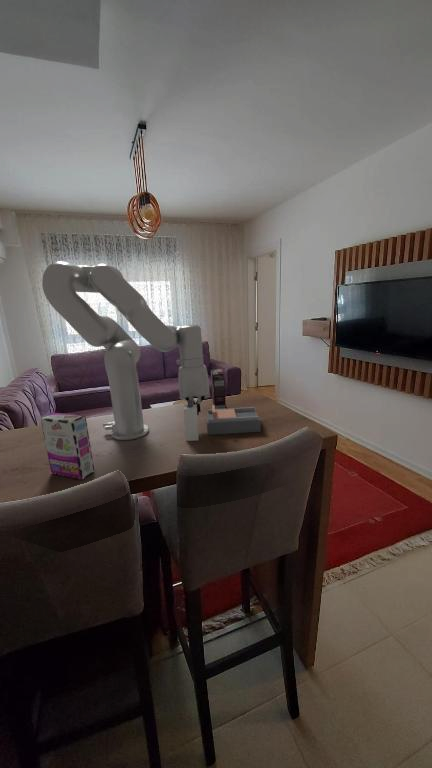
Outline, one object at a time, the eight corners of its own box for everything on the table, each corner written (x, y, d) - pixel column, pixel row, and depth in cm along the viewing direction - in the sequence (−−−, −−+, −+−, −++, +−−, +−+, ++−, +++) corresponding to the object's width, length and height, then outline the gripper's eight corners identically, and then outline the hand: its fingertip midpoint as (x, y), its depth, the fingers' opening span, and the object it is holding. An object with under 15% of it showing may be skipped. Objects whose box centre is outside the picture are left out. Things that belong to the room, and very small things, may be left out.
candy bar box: (95, 471, 87) (86, 415, 83) (82, 480, 82) (72, 422, 78) (64, 465, 91) (54, 411, 87) (50, 474, 86) (38, 418, 82)
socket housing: (207, 434, 107) (206, 420, 105) (207, 422, 117) (206, 409, 116) (260, 431, 107) (260, 417, 106) (255, 419, 118) (255, 406, 116)
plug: (186, 441, 103) (183, 403, 99) (186, 435, 107) (184, 399, 103) (198, 440, 103) (196, 402, 99) (198, 435, 107) (196, 398, 103)
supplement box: (212, 405, 135) (210, 369, 131) (223, 405, 135) (222, 368, 131) (214, 412, 127) (212, 374, 122) (226, 412, 127) (224, 373, 123)
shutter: (212, 421, 107) (212, 412, 106) (212, 412, 115) (211, 404, 114) (236, 419, 107) (236, 411, 107) (234, 411, 115) (234, 403, 114)
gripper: (168, 366, 102) (174, 419, 107) (214, 363, 102) (218, 416, 107) (170, 361, 109) (176, 411, 114) (214, 358, 109) (217, 408, 114)
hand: (196, 413), depth 111 cm, fingers closed
